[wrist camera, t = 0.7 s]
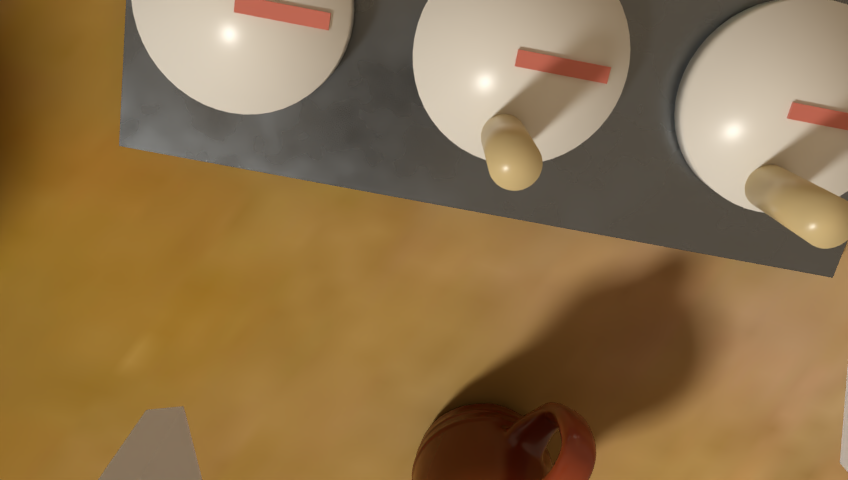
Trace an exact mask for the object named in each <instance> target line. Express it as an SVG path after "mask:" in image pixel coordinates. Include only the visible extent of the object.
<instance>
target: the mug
mask: <svg viewBox="0 0 848 480" xmlns="http://www.w3.org/2000/svg"><path fill="white" fill-rule="evenodd" d="M558 430H559V431H560V434H561V440H562V445H561V450H560V453H559V456H558V458H557V460H556V462H555V464H554V465H553V464H552V461H551V458H550V455H549V452H548V450H547V448H546V447H547V445H548V443H549V441H550V439H551V438H552V436H553V435H554V434H555V433H556V432H557V431H558ZM595 460H596V444H595V439H594V436H593V434H592V431H591V429H590V427H589V425H588V423H587V422H586V420H585V419H584V418H583V417H582V416H581V415H580V414H579V413H577V412H576V411H574V410H573V409H571V408H569V407H567V406H565V405H563V404H560V403H555V402H551V403H546V404H544V405H542V406H540V407H538V408H537V409H535V410H533V411H531V412H530V413H528V414H526V415H524V416H521V415H520V414H518V413H517V412H515V411H513V410H511V409H508V408H506V407H503V406H500V405H497V404H491V403H481V404H471V405H466V406H462V407H459V408H456V409H453V410H451V411H449V412H447V413H445V414H444V415H442V416H441V417H440V418H438V419H437V420H436V421H435V422H434V423H433V424H432V425H431V426H430V427H429V429H428V430H427V432H426V433H425V435H424V437H423V439H422V441H421V444H420V446H419V448H418V451H417V454H416V458H415V461H414V464H413V469H412V480H589V478H590V476H591V474H592V471H593V469H594V465H595Z"/></svg>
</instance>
